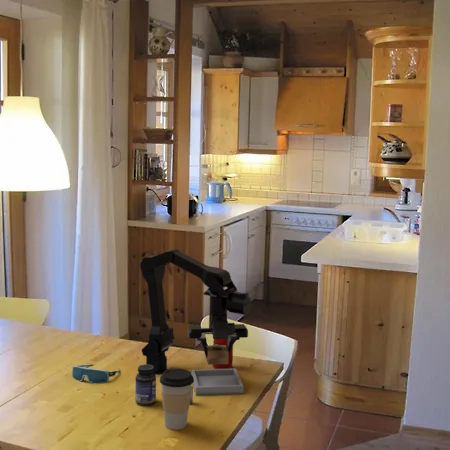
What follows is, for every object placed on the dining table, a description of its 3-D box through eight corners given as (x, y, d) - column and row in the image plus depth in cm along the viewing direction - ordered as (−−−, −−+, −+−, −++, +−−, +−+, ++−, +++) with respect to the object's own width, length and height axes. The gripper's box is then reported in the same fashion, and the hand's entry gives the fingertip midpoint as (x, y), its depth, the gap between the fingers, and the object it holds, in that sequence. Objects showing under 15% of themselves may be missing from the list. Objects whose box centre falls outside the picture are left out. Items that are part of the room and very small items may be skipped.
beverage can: (233, 365, 226) (234, 332, 224) (231, 373, 219) (232, 339, 217) (213, 364, 226) (214, 331, 224) (211, 371, 220) (212, 337, 218)
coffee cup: (159, 417, 184) (160, 367, 182) (192, 417, 185) (193, 367, 183) (158, 433, 175) (159, 380, 172) (193, 432, 175) (194, 380, 173)
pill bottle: (156, 405, 192) (156, 370, 190) (135, 406, 191) (135, 371, 189) (155, 397, 198) (155, 362, 196) (135, 398, 197) (135, 363, 195)
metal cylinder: (186, 404, 193) (186, 388, 192) (185, 401, 195) (186, 386, 194) (193, 404, 193) (193, 388, 193) (192, 401, 195) (192, 385, 195)
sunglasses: (65, 380, 209) (66, 365, 209) (87, 370, 224) (88, 356, 224) (104, 386, 205) (105, 371, 205) (124, 376, 220) (125, 361, 220)
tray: (195, 395, 200) (195, 387, 200) (191, 376, 215) (191, 369, 214) (243, 393, 202) (243, 386, 202) (235, 375, 217) (235, 368, 216)
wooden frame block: (208, 364, 204) (208, 352, 203) (205, 356, 211) (205, 344, 210) (228, 364, 204) (228, 351, 204) (224, 355, 212) (225, 343, 211)
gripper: (191, 317, 195) (190, 367, 198) (252, 316, 198) (250, 365, 201) (188, 307, 206) (187, 354, 209) (245, 306, 209) (243, 353, 211)
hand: (216, 357), depth 207 cm, fingers closed on wooden frame block, 6 cm apart
